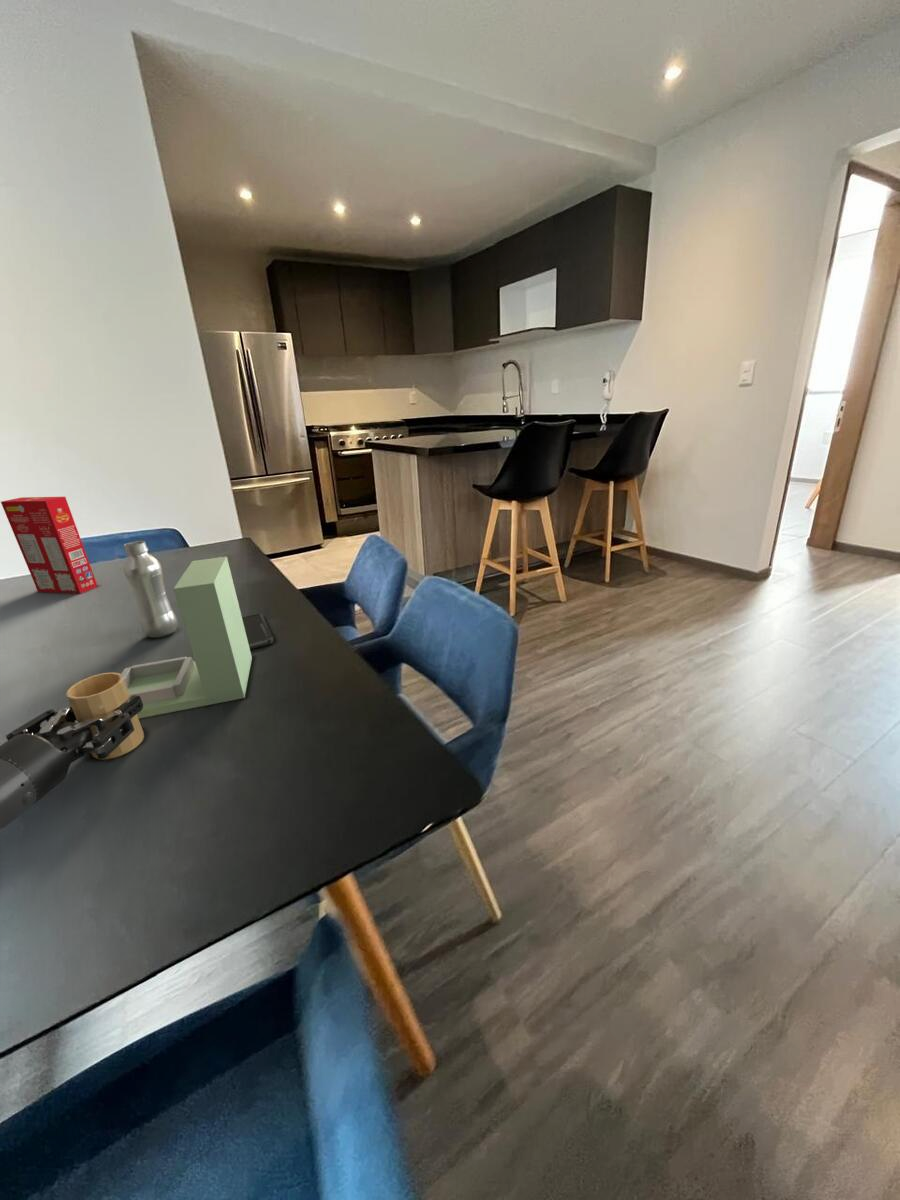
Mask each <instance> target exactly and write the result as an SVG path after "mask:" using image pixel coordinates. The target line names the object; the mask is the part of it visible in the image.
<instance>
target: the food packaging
mask: <svg viewBox="0 0 900 1200" xmlns="http://www.w3.org/2000/svg"><path fill="white" fill-rule="evenodd" d="M0 504H1V506H2V509H3V511H4V514H5V515H6V519H7V521H8V523H9V525H10V528H11V531H12V533H13V535H14V537H15V539H16V542H17V545H18V547H19V550H20V552H21V554H22V557H23V559H24V561H25V564H26V566H27V569H28V572H29V573H30V576H31V578H32V581H33V583H34V586H35V589H36V590H37V593H58V594H83V593H85V592H89V591H90V590H93V589H95V588H97V587H98V583H97V580H96V577H95V575H94V572H93V569H92V567H91V563H90V562H89V561H90V560H89V558H88V555H87V553H86V550H85V547H84V544H83V541H82V539H81V536H80V534H79V530H78V527H77V525H76V522H75V520H74V517H73V514H72V511H71V509H70V506H69V503H68V501H67V497H66V496H36V497H35V496H30V497H29V496H27V497H26V496H25V497H24V496H23V497H15V498H12V499H7V500H6V499H5V500H2V501H0Z"/></svg>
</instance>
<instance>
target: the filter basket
mask: <svg viewBox="0 0 900 1200" xmlns="http://www.w3.org/2000/svg"><path fill="white" fill-rule="evenodd" d="M65 694H66V697H67V698H66V699H67V700H68V703H69V705H70V707H72V709H73V712H74V714H75V716H76V719H77V721H76V722H77V723H80V722H82V721H85V720H87V719H89V718H91V717H93V716H98V717H102V716H104V715H106V714H108V713H110V712H113V711H115V709H116V708H118V707H119V706H120V705H122V704H123V703H124V702H126V701H127V700H128V699H129V698H131V697H130V695H129V692H128V689H127V686H126V684H125V681H124V678H123V676H122V674H121V673H119V672H116V671H113V672H103V673H102V672H101V673H99V674H95V675H91V676H88V677H86V678H84V679H81V680H79V681H77V682H76V683H74V684H73V685H71V686H70V687H69V688H68V690H67V691H66V692H65ZM131 721H132V724H133V727H134V731H133V732H132V733H131V734H130V735H129V736H128V737H127V738H126V739H125V740H124V741H123V742H122V743H121V744H120V745H119V746H118V747H117V748H116V749H115V750H114V751H112V752H111V753H110V754H109V755H108V756H107V757H105V758H103V759H102V760H111V759H114V758H118V757H121V756H123V755H125V754H127V753H129V752H132V751H133V750H135V749H136V748H137V747H138V746H139V745H140V744H141V743H142V742H143V741H144V738H145V733H144V730H143V727H142V725H141V722H140V718H139V719H138V716H137V714H136V715H135V716H134V717H132V718H131ZM112 722H113V720H110V721H108V722H106V723H105V724H104V727H105V728H106V727H108V726H109V725H110V724H111V723H112ZM90 729H91V732H92V734H93V738H95V735H96V734H97V731H96V729H95V726H94V725H93V726H90ZM121 731H122V730H120V732H121ZM93 738H92V739H93ZM90 754H91V756H92V757H93V758H94V759H97V760H100V759H99V758H98V756H97V754H96V753H90Z"/></svg>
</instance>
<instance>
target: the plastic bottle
mask: <svg viewBox="0 0 900 1200" xmlns="http://www.w3.org/2000/svg"><path fill="white" fill-rule="evenodd" d="M123 548H124V551H125V555H126V556H128V557H127V560H126V562H125V564H124V567H123V573H124V576H125V578H126V580H127V582H128V584H129V586H130V587H131V589H132V593H133V594H134V597H135V600H136V603H137V607H138V612H139V616H140V627H141V630H142V632H143V633H144V635H146V636H147V637H149V638H152V639H153V638H162V637H166V636H168V635H171V634H173V633H174V632H175V631H176V630H177V629H178V617H177V615H176V613H175V612H174V610H173V608H172V606H171V603H170V600H169V598H168V595H167V592H166V586H165V582H164V575H163V568H162V564H161V563H160V561H159V560H158V559H157V558H156V557H155V556H153V555H152V554H150V553H149V552H148V551H149V548H148V546H147V543H146V541H145V540H136V541H131V542H127V543H124V544H123Z"/></svg>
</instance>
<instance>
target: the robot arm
mask: <svg viewBox="0 0 900 1200" xmlns="http://www.w3.org/2000/svg"><path fill="white" fill-rule="evenodd" d="M142 709H143V703H142V700H141V698H140V696H132V697H131V698H129V699H128V700H127V701H126V702H124V703H123V704H122V705H120V706H119V707H118V708H116V709H115V711H113V712H110V713H108V714H106V715H104V716H102V717H98V716H93V717H91V718H89V719H87V720H85V721H82V722H80V723H78V721H77V719H76V716H75V714H74V712H73V709H72V707H71V706H69V707H68V706H66V707H63V708H60V709H59V710H58V711H55V709H53V708H52V709H47V710H45V711H44V712H43V713H40V714H39V715H37V716H36V717H34V718H33V719H31V720H29V721H27V722H26V723H24V724H22V725H21V726H19V727H17V728H15V729H14V730H12V731H11V732H9V733H7V734H6V736H5V738H6V739H7V740H6V741H5V742H4V743H2V744H0V832H1V831H2V830H4V829H5V828H7V827H9V826H10V825H11V824H12V823H13V822H15V821H16V820H17V819H18V818H19V817H20V816H22V815H23V814H25V812H27V811H28V810H29V809H31V807H33V806H34V805H35V804H36V803H37V802H39V801H40V800H41V799H42V798H44V797H45V796H46V795H47V794H49V793H50V792H51V791H52V790H53V789H54V788H55V787H57V786H58V785H59V784H60V783H61V782H63V781H64V780H65V779H66V777H67V775H68V771H69V769H70V766H71V764H73V762H75V761H77V760H79V759H81V758H83V757H85V756H86V755H88V754H91V753H96V754H97V756H98V758H99V759H98V760H104V759H103V758H105V757H107V756H108V755H109V754H110V753H111V752H112V751H114V750H115V749H116V748H117V747H118V746H119V745H120V744H121V743H122V742H123V741H124V740H125V739H126V738H127V737H128V736H129V735H130V734H131V733H132V732H133V731H134V727H133V724H132V721H131V718H132V717H134V716H135V715H136V714H137V713H139V712H140V711H141V710H142ZM110 720H113V722H112V723H111V724H110V725H109V726H108V727H106V728H105V727H104V724H105V723H106V722H108V721H110ZM45 721H46V724H45V725H44V726H41V724H42V723H44V722H45ZM93 725H94V726H95V729H96V731H97V734H96V735H95V738H93V734H92V732H91V729H90V726H93ZM120 730H122V731H121V732H120ZM92 738H93V739H92Z"/></svg>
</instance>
